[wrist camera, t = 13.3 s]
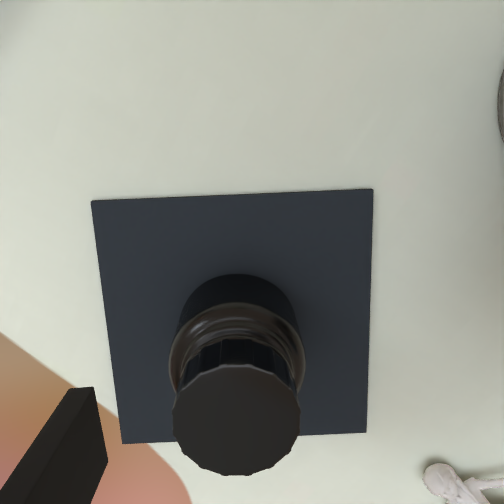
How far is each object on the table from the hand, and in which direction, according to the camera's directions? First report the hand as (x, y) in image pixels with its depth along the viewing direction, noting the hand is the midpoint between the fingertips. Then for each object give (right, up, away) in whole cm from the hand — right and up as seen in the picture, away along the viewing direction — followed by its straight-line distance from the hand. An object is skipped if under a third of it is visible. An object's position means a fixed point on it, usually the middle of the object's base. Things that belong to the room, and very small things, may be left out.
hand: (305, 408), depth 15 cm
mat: (-3, -1, +22) cm, 22 cm away
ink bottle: (-3, -1, +22) cm, 22 cm away
